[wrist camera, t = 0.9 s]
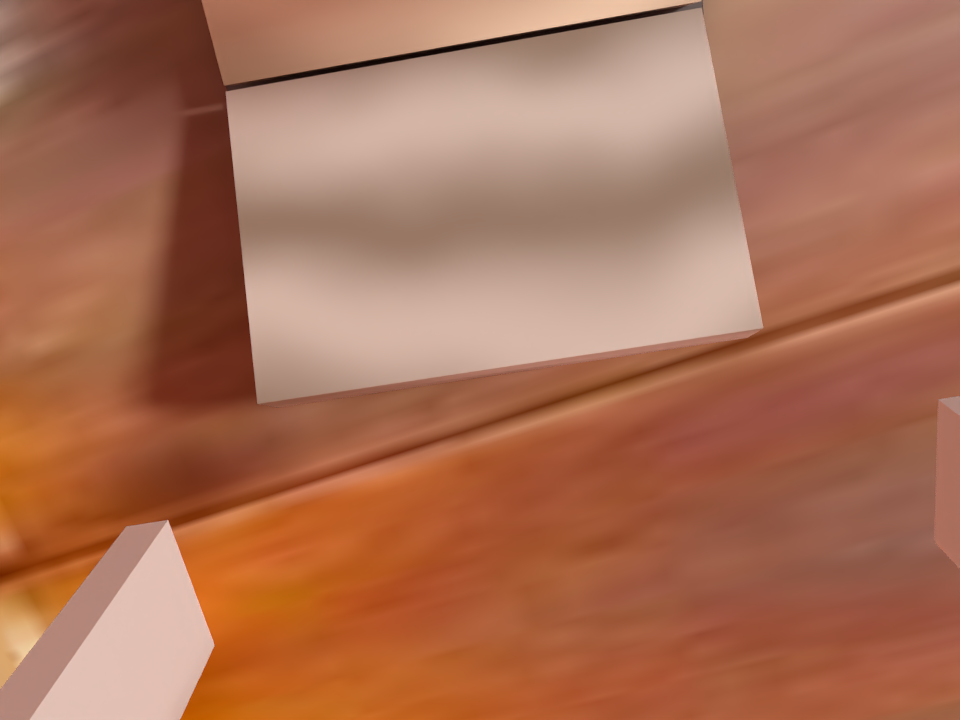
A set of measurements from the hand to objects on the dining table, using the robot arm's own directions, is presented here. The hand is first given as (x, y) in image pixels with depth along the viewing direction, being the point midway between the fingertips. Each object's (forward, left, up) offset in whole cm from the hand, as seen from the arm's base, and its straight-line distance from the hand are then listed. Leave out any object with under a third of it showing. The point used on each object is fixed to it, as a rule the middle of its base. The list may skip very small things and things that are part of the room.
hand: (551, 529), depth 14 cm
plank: (-3, -1, -14) cm, 14 cm away
